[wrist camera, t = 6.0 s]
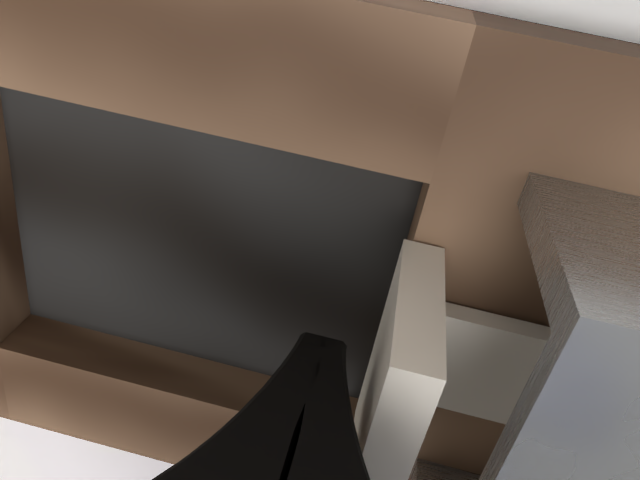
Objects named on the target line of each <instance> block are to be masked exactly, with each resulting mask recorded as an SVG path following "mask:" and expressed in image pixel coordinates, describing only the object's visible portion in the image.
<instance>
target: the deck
mask: <svg viewBox="0 0 640 480" xmlns="http://www.w3.org/2000/svg"><path fill="white" fill-rule="evenodd" d="M529 172H533V173H537V174H542V175H546V176H551V177H555V178H560V179H564V180H569V181H573V182H578V183H582V184H587V185H591V186H596V187H600V188H605V189H609V190H614V191H618V192H623V193H627V194H632V195H636V196H640V44H636V43H631V42H626V41H621V40H616V39H611V38H606V37H601V36H596V35H591V34H586V33H581V32H577V31H572V30H567V29H562V28H557V27H552V26H547V25H542V24H537V23H532V22H527V21H522V20H517V19H512V18H508V17H503V16H498V15H493V14H488V13H483V12H478V11H473V10H468V9H463V8H458V7H453V6H448V5H443V4H438V3H434V2H429V1H424V0H0V417H3V418H7V419H10V420H14V421H18V422H21V423H25V424H29V425H32V426H36V427H40V428H43V429H47V430H51V431H54V432H58V433H62V434H65V435H69V436H73V437H76V438H80V439H84V440H87V441H91V442H94V443H98V444H102V445H105V446H109V447H113V448H116V449H120V450H124V451H127V452H131V453H135V454H138V455H142V456H146V457H149V458H153V459H157V460H160V461H164V462H168V463H171V464H176V463H178V462H179V461H180V460H182V459H183V458H184V457H186V456H187V455H188V454H190V453H191V452H192V451H194V450H195V449H196V448H197V447H199V446H200V445H201V444H202V443H204V442H205V441H206V440H208V439H209V438H210V437H211V436H212V435H214V434H215V433H216V432H217V431H218V430H219V429H220V428H222V427H223V426H224V425H225V424H226V423H227V422H228V421H229V420H231V419H232V418H233V417H234V416H235V415H236V414H237V413H238V412H239V411H240V410H241V409H242V408H243V407H244V406H245V405H246V404H247V403H248V402H249V401H250V400H251V399H252V398H253V396H254V395H255V394H256V393H257V392H258V391H259V390H260V389H261V388H262V387H263V386H264V385H265V383H266V382H267V381H268V380H269V379H270V377H271V376H272V375H273V374H274V373H275V371H276V370H277V369H278V368H279V367H280V365H281V364H282V363H283V361H284V360H285V359H286V357H287V356H288V354H289V353H290V352H291V350H292V349H293V347H294V345H295V344H296V342H297V340H298V338H299V336H300V335H301V334H302V333H304V332H309V333H313V334H317V335H321V336H325V337H329V338H333V339H337V340H341V341H344V343H345V344H346V346H347V349H346V373H347V383H348V391H349V397H350V403H351V409H352V414H353V419H354V416H355V410H356V406H357V403H358V399H359V396H360V392H361V388H362V385H363V381H364V378H365V374H366V371H367V367H368V364H369V360H370V357H371V353H372V350H373V346H374V343H375V339H376V335H377V332H378V328H379V325H380V321H381V318H382V314H383V311H384V307H385V304H386V300H387V297H388V293H389V289H390V286H391V282H392V279H393V275H394V272H395V268H396V265H397V261H398V258H399V254H400V251H401V247H402V244H403V240H404V239H406V240H410V241H415V242H419V243H423V244H427V245H432V246H436V247H440V248H445V302H448V303H452V304H456V305H460V306H465V307H469V308H473V309H477V310H481V311H485V312H489V313H494V314H498V315H502V316H506V317H510V318H514V319H518V320H522V321H527V322H531V323H535V324H539V325H543V326H547V327H550V325H549V321H548V318H547V314H546V310H545V306H544V303H543V299H542V295H541V291H540V288H539V284H538V280H537V276H536V273H535V269H534V265H533V261H532V258H531V254H530V250H529V246H528V243H527V239H526V235H525V231H524V228H523V224H522V220H521V216H520V213H519V209H518V205H517V203H518V200H519V198H520V195H521V193H522V190H523V187H524V185H525V182H526V180H527V177H528V175H529ZM505 425H506V424H502V423H498V422H494V421H490V420H486V419H483V418H479V417H475V416H471V415H467V414H463V413H459V412H455V411H451V410H447V409H443V408H440V407H436V409H435V412H434V415H433V417H432V420H431V422H430V425H429V427H428V430H427V432H426V435H425V438H424V440H423V443H422V445H421V448H420V450H419V453H418V456H417V458H418V459H422V460H426V461H430V462H434V463H437V464H441V465H445V466H449V467H453V468H456V469H460V470H464V471H468V472H472V473H475V474H479V475H481V474H482V472H483V470H484V468H485V466H486V464H487V462H488V460H489V458H490V456H491V454H492V452H493V450H494V448H495V445H496V443H497V441H498V439H499V437H500V435H501V433H502V431H503V429H504V427H505ZM417 458H416V460H417ZM415 463H416V461H415ZM415 463H414V466H415ZM414 466H413V468H414ZM413 468H412V471H413ZM412 471H411V473H412ZM411 473H410V476H409V479H408V480H411Z"/></svg>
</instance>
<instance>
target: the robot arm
mask: <svg viewBox="0 0 640 480" xmlns="http://www.w3.org/2000/svg"><path fill="white" fill-rule="evenodd" d="M346 349H347V346H346V344H345V343H344V341H341V340H337V339H333V338H329V337H325V336H321V335H317V334H313V333H309V332H304V333H302V334H301V335H300V336H299V338H298V340H297V342H296V344H295V345H294V347H293V349H292V350H291V352H290V353H289V354H288V356H287V357H286V359H285V360H284V361H283V363H282V364H281V365H280V367H279V368H278V369H277V370H276V371H275V373H274V374H273V375H272V376H271V377H270V379H269V380H268V381H267V382H266V383H265V385H264V386H263V387H262V388H261V389H260V390H259V391H258V392H257V393H256V394H255V395H254V396H253V398H252V399H251V400H250V401H249V402H248V403H247V404H246V405H245V406H244V407H243V408H242V409H241V410H240V411H239V412H238V413H237V414H236V415H235V416H234V417H233V418H232V419H231V420H229V421H228V422H227V423H226V424H225V425H224V426H223V427H222V428H220V429H219V430H218V431H217V432H216V433H215V434H214V435H212V436H211V437H210V438H209V439H208V440H206V441H205V442H204V443H202V444H201V445H200V446H199V447H197V448H196V449H195V450H194V451H192V452H191V453H190V454H188V455H187V456H186V457H184V458H183V459H182V460H180V461H179V462H178V463H176V464H175V465H173V466H172V467H170V468H169V469H167V470H166V471H164V472H163V473H161V474H160V475H158V476H157V477H155V478H154V479H152V480H370V477H369V474H368V471H367V468H366V465H365V462H364V458H363V455H362V452H361V448H360V444H359V440H358V436H357V432H356V428H355V424H354V419H353V414H352V409H351V403H350V397H349V391H348V383H347V373H346Z"/></svg>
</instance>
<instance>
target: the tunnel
mask: <svg viewBox="0 0 640 480" xmlns="http://www.w3.org/2000/svg"><path fill="white" fill-rule="evenodd" d="M517 205H518V209H519V213H520V216H521V220H522V224H523V228H524V231H525V235H526V239H527V243H528V246H529V250H530V254H531V258H532V261H533V265H534V269H535V273H536V276H537V280H538V284H539V288H540V291H541V295H542V299H543V303H544V306H545V310H546V314H547V318H548V321H549V325H550V329H551V332H552V333H551V335H550V337H549V339H548V341H547V343H546V345H545V347H544V349H543V351H542V353H541V355H540V357H539V359H538V361H537V363H536V365H535V367H534V369H533V371H532V373H531V375H530V377H529V379H528V381H527V383H526V385H525V387H524V389H523V391H522V393H521V395H520V397H519V399H518V401H517V403H516V405H515V407H514V409H513V411H512V413H511V415H510V417H509V419H508V421H507V423H506V425H505V427H504V429H503V431H502V433H501V435H500V437H499V439H498V441H497V443H496V445H495V448H494V450H493V452H492V454H491V456H490V458H489V460H488V462H487V464H486V466H485V468H484V470H483V472H482V474H481V475H479V474H475V473H472V472H468V471H464V470H460V469H456V468H453V467H449V466H445V465H441V464H437V463H434V462H430V461H426V460H422V459H418V458H417V460H416V463H415V466H414V468H413V471H412V473H411V480H640V196H636V195H632V194H627V193H623V192H618V191H614V190H609V189H605V188H600V187H596V186H591V185H587V184H582V183H578V182H573V181H569V180H564V179H560V178H555V177H551V176H546V175H542V174H537V173H533V172H529V175H528V177H527V180H526V182H525V185H524V187H523V190H522V193H521V195H520V198H519V200H518V203H517Z"/></svg>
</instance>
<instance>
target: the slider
mask: <svg viewBox="0 0 640 480" xmlns="http://www.w3.org/2000/svg"><path fill="white" fill-rule="evenodd" d="M551 333H552V332H551V329H550V327H547V326H543V325H539V324H535V323H531V322H527V321H522V320H518V319H514V318H510V317H506V316H502V315H498V314H494V313H489V312H485V311H481V310H477V309H473V308H469V307H465V306H460V305H456V304H452V303H448V302H445V248H440V247H436V246H432V245H427V244H423V243H419V242H415V241H410V240H406V239H404V240H403V244H402V247H401V251H400V254H399V258H398V261H397V265H396V268H395V272H394V275H393V279H392V282H391V286H390V289H389V293H388V297H387V300H386V304H385V307H384V311H383V314H382V318H381V321H380V325H379V328H378V332H377V335H376V339H375V343H374V346H373V350H372V353H371V357H370V360H369V364H368V367H367V371H366V374H365V378H364V381H363V385H362V388H361V392H360V396H359V399H358V403H357V406H356V410H355V416H354V424H355V428H356V432H357V436H358V440H359V444H360V448H361V452H362V455H363V458H364V462H365V465H366V468H367V471H368V474H369V477H370V480H408V479H409V476H410V473H411V471H412V468H413V466H414V463H415V461H416V458H417V456H418V453H419V450H420V448H421V445H422V443H423V440H424V438H425V435H426V432H427V430H428V427H429V425H430V422H431V420H432V417H433V415H434V412H435V409H436V407H440V408H443V409H447V410H451V411H455V412H459V413H463V414H467V415H471V416H475V417H479V418H483V419H486V420H490V421H494V422H498V423H502V424H506V423H507V421H508V419H509V417H510V415H511V413H512V411H513V409H514V407H515V405H516V403H517V401H518V399H519V397H520V395H521V393H522V391H523V389H524V387H525V385H526V383H527V381H528V379H529V377H530V375H531V373H532V371H533V369H534V367H535V365H536V363H537V361H538V359H539V357H540V355H541V353H542V351H543V349H544V347H545V345H546V343H547V341H548V339H549V337H550V335H551Z"/></svg>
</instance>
